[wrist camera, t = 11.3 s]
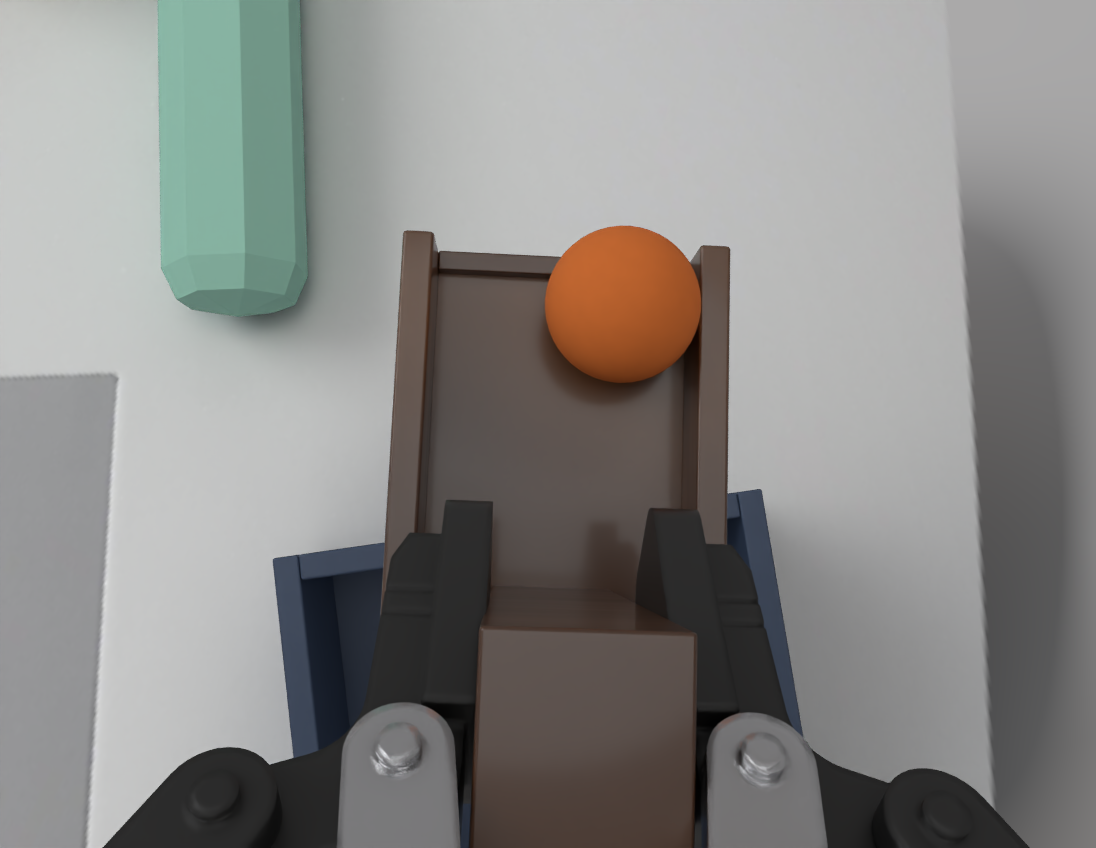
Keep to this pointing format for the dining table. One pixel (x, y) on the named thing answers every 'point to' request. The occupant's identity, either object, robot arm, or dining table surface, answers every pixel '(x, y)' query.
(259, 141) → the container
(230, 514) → the dining table surface
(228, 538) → the dining table surface
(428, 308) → the scoop
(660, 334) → the toy ball
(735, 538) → the tote
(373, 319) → the dining table surface
